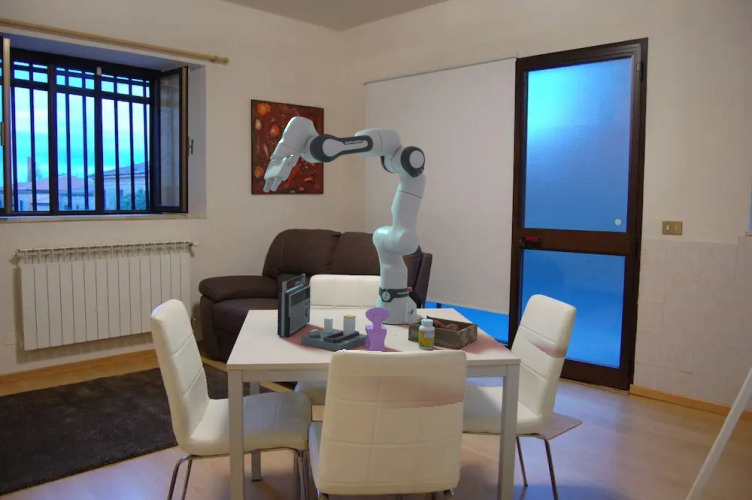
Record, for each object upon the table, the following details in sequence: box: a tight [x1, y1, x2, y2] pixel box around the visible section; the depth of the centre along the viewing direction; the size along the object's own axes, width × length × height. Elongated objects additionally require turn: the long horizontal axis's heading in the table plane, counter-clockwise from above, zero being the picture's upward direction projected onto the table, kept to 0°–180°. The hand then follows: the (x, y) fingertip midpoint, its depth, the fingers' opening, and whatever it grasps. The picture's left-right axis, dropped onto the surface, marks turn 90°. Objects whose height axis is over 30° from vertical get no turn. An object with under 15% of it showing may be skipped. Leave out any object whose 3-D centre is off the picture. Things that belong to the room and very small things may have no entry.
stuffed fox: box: [425, 314, 462, 331], centre depth 220 cm, size 8×11×12 cm
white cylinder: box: [342, 314, 357, 336], centre depth 213 cm, size 3×3×7 cm
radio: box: [276, 273, 311, 338], centre depth 229 cm, size 24×5×20 cm, turn 168°
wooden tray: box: [407, 316, 479, 350], centre depth 220 cm, size 16×20×6 cm
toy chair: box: [364, 306, 390, 351], centre depth 205 cm, size 8×9×15 cm
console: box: [300, 317, 367, 352], centre depth 211 cm, size 17×17×8 cm
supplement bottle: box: [418, 318, 435, 350], centre depth 209 cm, size 5×5×10 cm
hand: (269, 190), depth 216 cm, fingers open, 8 cm apart
